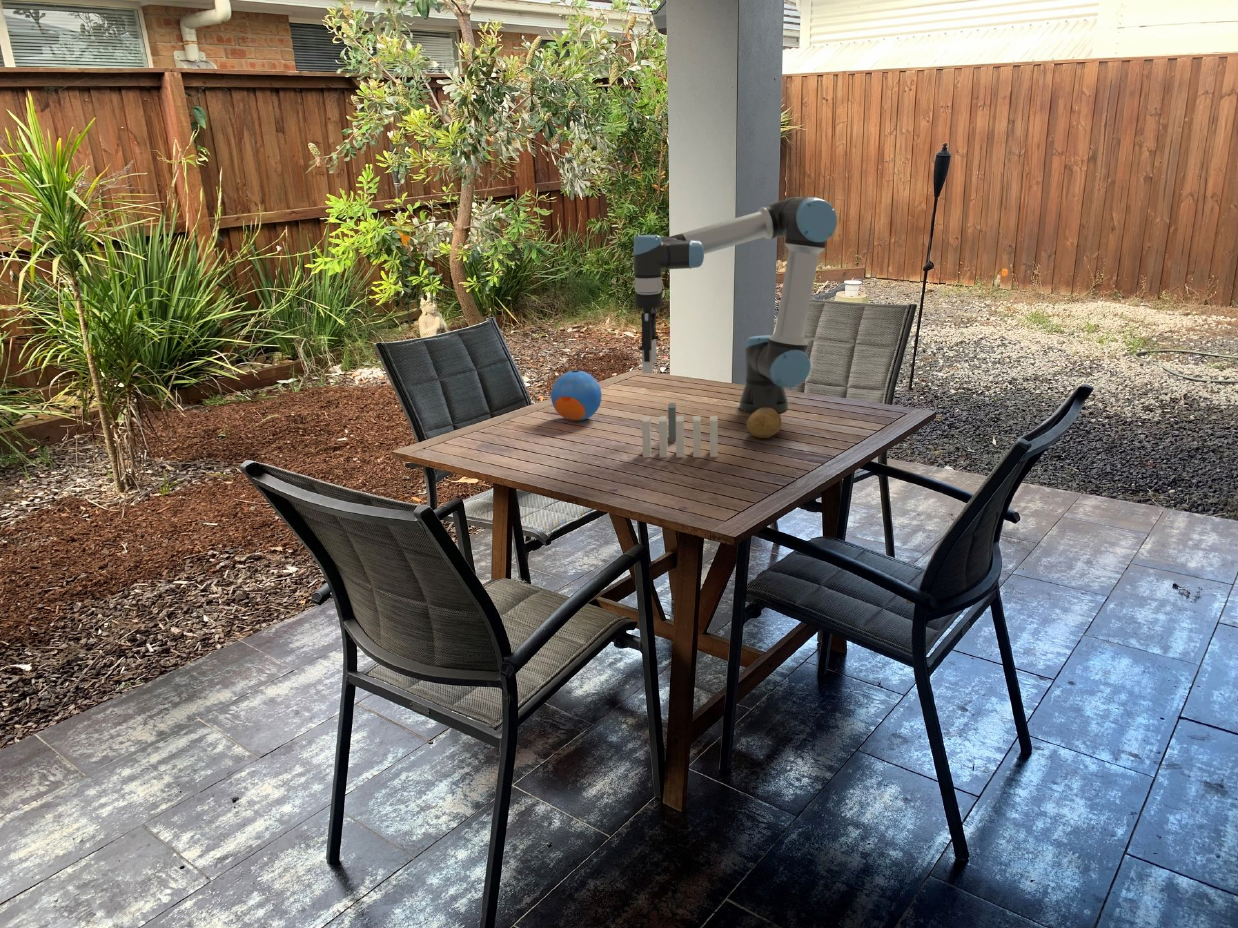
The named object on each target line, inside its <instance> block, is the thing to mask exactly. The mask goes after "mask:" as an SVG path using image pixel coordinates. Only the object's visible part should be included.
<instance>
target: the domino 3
mask: <svg viewBox="0 0 1238 928" xmlns="http://www.w3.org/2000/svg"><path fill="white" fill-rule="evenodd" d="M676 405H677V403H676V402H669V403H668V407H667V408H668V409H667V410H668V411H667V415H668V416H667V429H668V443H669V442H670V443H674V442H675V443H676V416H677V412H676V411H677V406H676Z"/></svg>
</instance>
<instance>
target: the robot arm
mask: <svg viewBox="0 0 1238 928" xmlns="http://www.w3.org/2000/svg"><path fill="white" fill-rule="evenodd" d="M837 225H838V217H837V213H836V210H835V208H834V207H833V206H832V204H831V203H830V202H828V201H827V200H825V199H822V198H819V197H808V196H807V197H805V196H804V197H803V196H793V197H792V196H791V197H788V198H785V199H782V200H780V201H777V202H774V203H771V204H768V205H765V206H761V207H759V209H758V210H757V211H755V212H753V213H749V214H745V215H742V216H739V217H736V218H735V217H734V218H731V219H728V220H724V221H720V222H718V223H715V224H714V223H713V224H710V225H706V226H703V227H700V228H696V229H692V230H688V231H685V232H681V233H678V234H677V233H676V234H673V235H671V236H665V235H664V236H660V235H659V234H643V235H637V236H636V237H634V239H633V253H632V255H633V266H634V280H632V281H631V282H632V284H633V285H634V291H635V292H636V293H635V294H634V306H635V307H636V308H637V309H638V308H639V309H643V312H641V314H640V319H641V346H639V347H638V348H639V351H641V353H642V354H641V356H642V359H641V362H642V365H641V366H642V373H643V374H653V364H654V363H655V364H656V363H657V340H659V335H657V325H656V323H657V312H656V308H657V309H658V308H660V307H662V305H663V294H662V291H663V283H662V282H663V275H662V271H663V270H665V271H667V270H679V269H685V270H686V269H689V270H691V269H695V268H696V269H697V268H700V267H701V266H702V265H703V263H704V259H705V255H707V254H710V253H713V252H717V251H720V250H724V249H727V248H730V247H734V246H738V245H741V244H742V245H743V244H744V243H748V242H751V241H755V240H758V239H762V238H764V239H766V240H771V239H777V238H784V240H785V241H784V245H785V247H786V248H787V250H788V254H787V260H786V264H785V269H784V270H785V271H784V277H783V283H782V289H781V295H780V299H779V306H778V307H779V308H778V313H777V320H776V324H775V330H774V332H773V334H768V335H767V334H765V335H764V334H763V335H754V336H750V337H748V338H747V339H746V342H745V348H744V349H745V385H744V387H743V390H742V393H741V395H740V396H741V397H740V399H739V408H740V410H741V411H743V412H746V413H749V414H750V413H751V414H753V413H754V412H755V411H756V410H758V409H760V408H763V407H768V408H772V409H774V410H775V411H776V412H777V413H778V414H780V413H782V412H786V411H787V410H788V409H789V401H788V396H787V394H786V390H785V388H787V389H788V388H789V389H791V388H795V387H798V386H799V385H801V384H802V383H803V382H804V381H806V379H807V378H808V376H809V374H810V372H811V368H812V367H811V366H812V365H811V364H812V363H811V360H810V357H809V355H808V354H807V352H808V347H809V342H808V341H807V339H806V338H805V332H806V328H807V323H808V318H809V317H808V316H809V310H810V305H811V299H812V295H813V287H814V283H815V277H816V272H817V271H816V270H817V265H818V259H819V255H820V253H822V252H823V251H824V250H826V246H827V240H828V239H829V238H831V237H832V236H833V234H834V233H835V232H836V228H837Z"/></svg>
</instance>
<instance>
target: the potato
mask: <svg viewBox="0 0 1238 928" xmlns="http://www.w3.org/2000/svg"><path fill="white" fill-rule="evenodd" d="M745 424H746V428H747V430H748V432H749V433H750V434H751V435H753V437H757V438H759V439H770V438H771V437H773V436H775V435H776V434H778V433H779V431H780V429H781V427H782V416H780V413H777V412H776V411H775V410H774V409H772V408H768V407H763V408H760V409H758V410H756V411H755V412H754V413H751V415H750V416H749V417H748V418H747V421H746V423H745Z"/></svg>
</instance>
